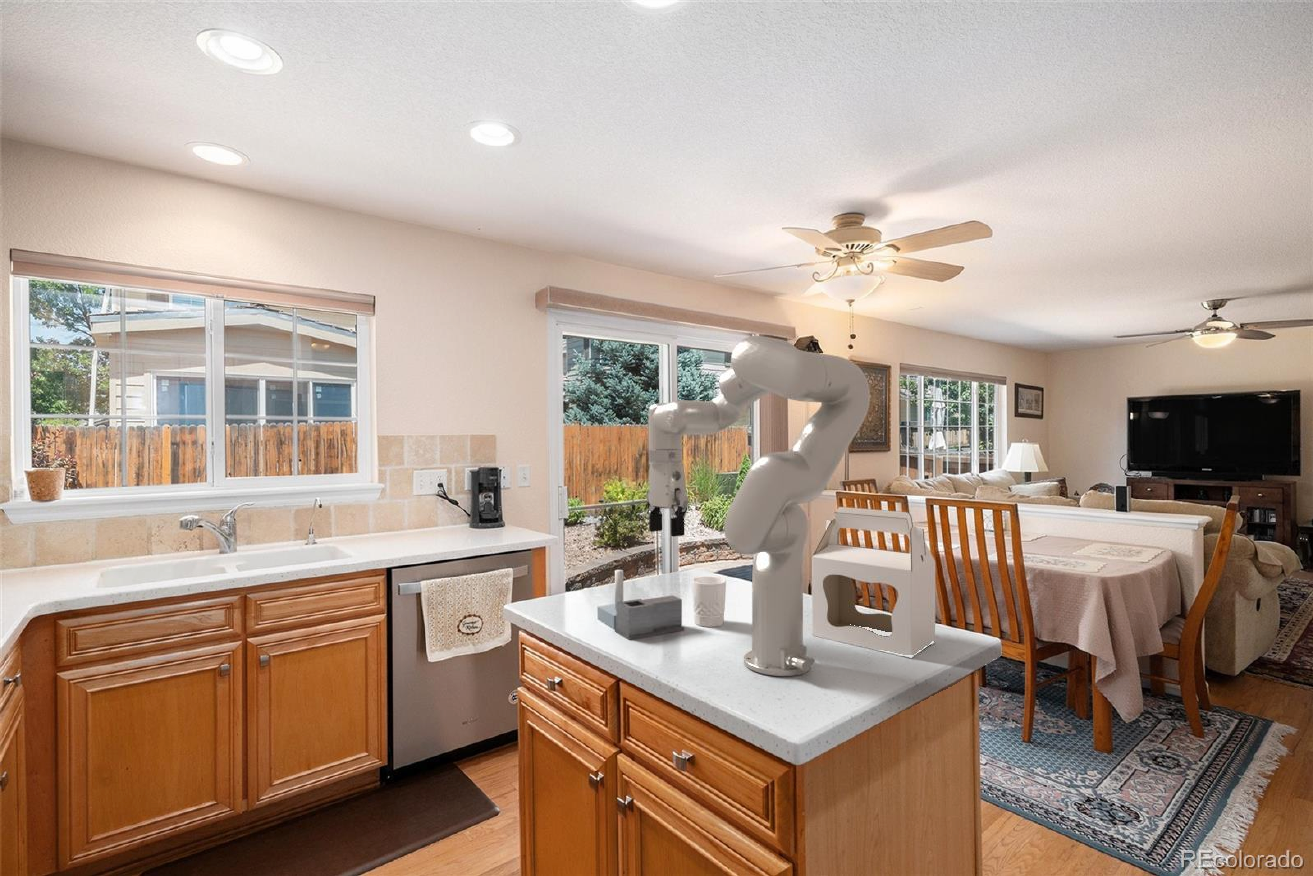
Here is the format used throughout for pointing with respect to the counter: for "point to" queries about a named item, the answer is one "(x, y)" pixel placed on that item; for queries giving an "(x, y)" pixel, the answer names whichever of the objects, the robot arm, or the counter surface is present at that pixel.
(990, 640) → the counter surface
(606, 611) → the grey peg stand
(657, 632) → the mat
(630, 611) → the block
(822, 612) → the gable box
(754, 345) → the robot arm
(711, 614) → the white cup
